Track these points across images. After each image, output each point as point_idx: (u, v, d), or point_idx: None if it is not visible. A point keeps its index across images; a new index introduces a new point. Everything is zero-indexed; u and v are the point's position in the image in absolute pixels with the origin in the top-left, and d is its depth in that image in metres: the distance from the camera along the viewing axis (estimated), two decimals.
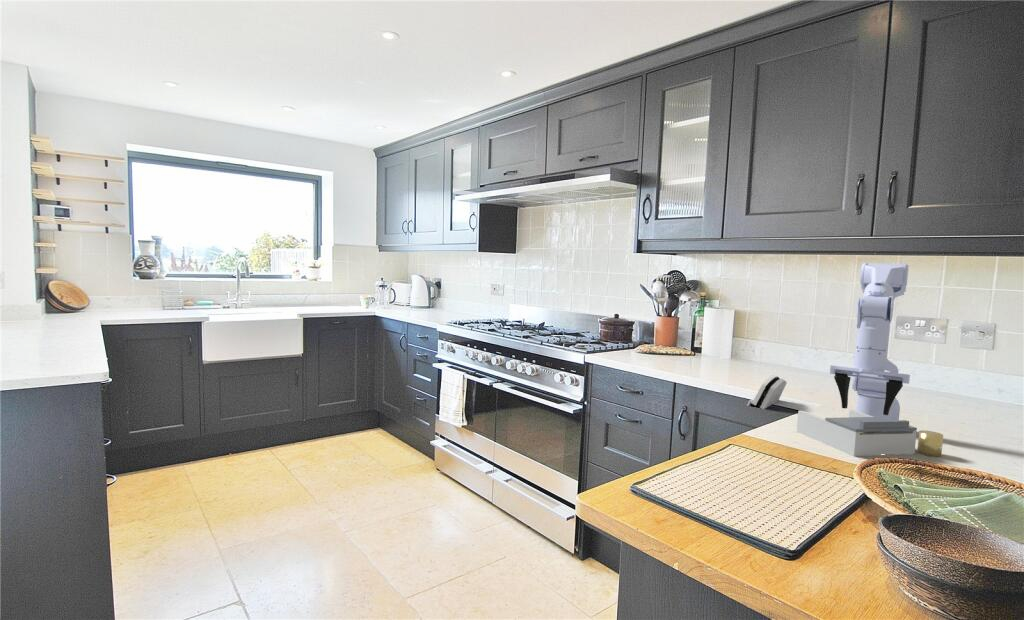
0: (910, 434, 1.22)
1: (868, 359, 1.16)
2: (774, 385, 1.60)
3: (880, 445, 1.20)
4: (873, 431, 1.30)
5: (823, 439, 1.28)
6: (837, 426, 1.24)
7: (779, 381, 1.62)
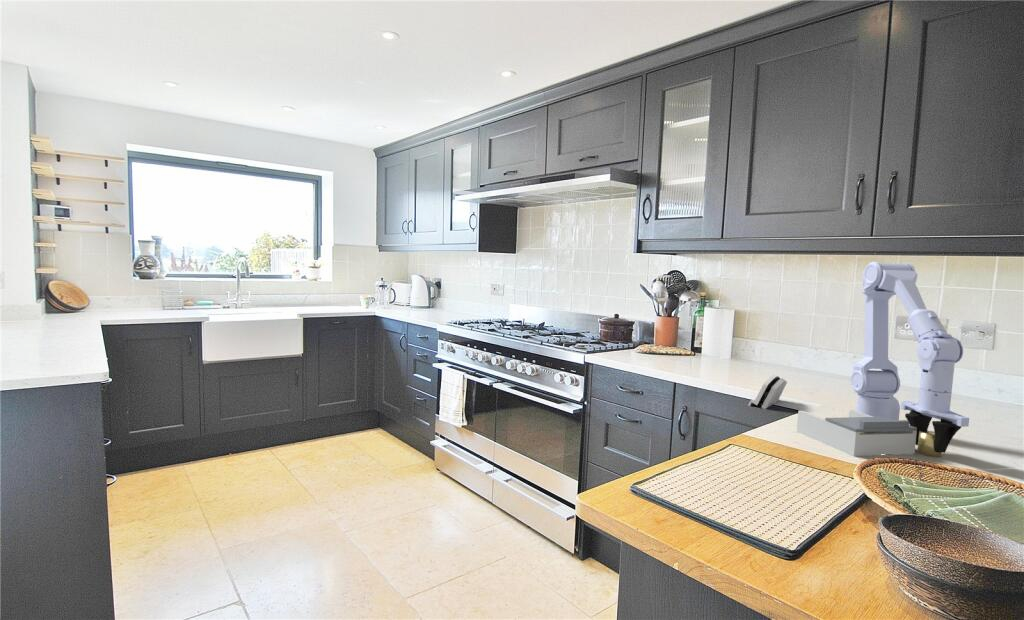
0: (910, 434, 1.22)
1: (924, 399, 1.21)
2: (775, 385, 1.60)
3: (880, 445, 1.20)
4: (873, 431, 1.30)
5: (823, 439, 1.28)
6: (837, 426, 1.24)
7: (780, 381, 1.63)
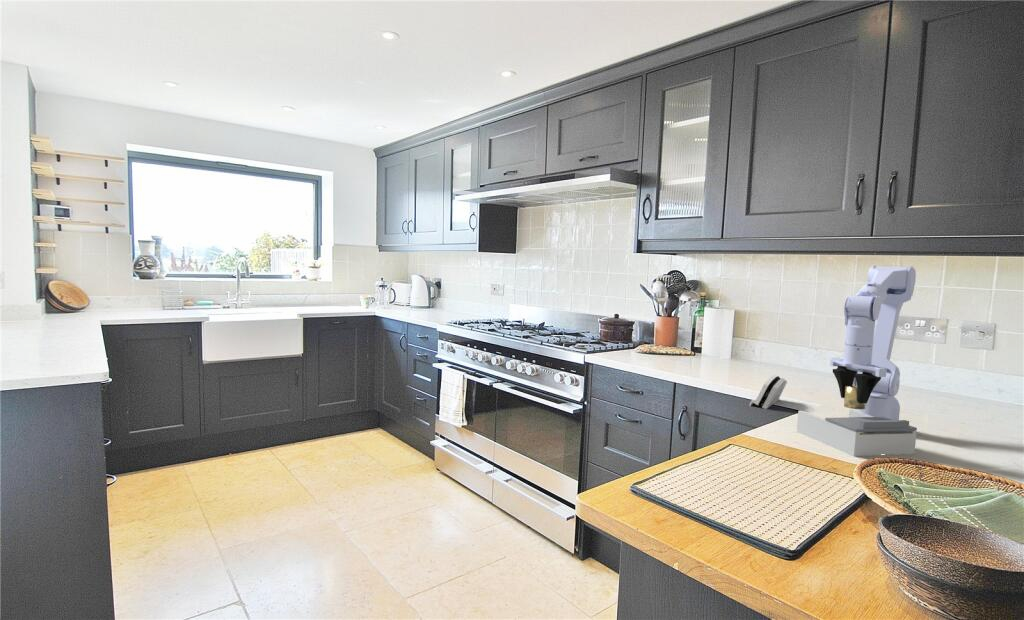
0: (910, 434, 1.22)
1: (848, 354, 1.29)
2: (776, 385, 1.60)
3: (880, 445, 1.20)
4: (873, 431, 1.30)
5: (823, 439, 1.28)
6: (837, 426, 1.24)
7: (780, 381, 1.63)
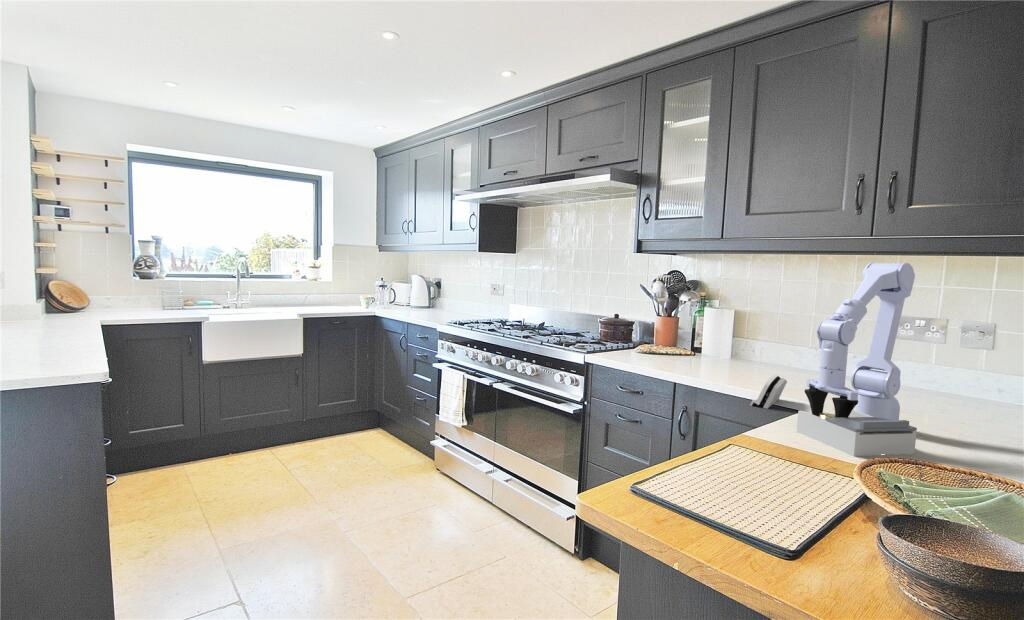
0: (910, 434, 1.22)
1: (822, 376, 1.33)
2: (777, 385, 1.61)
3: (880, 445, 1.20)
4: (873, 431, 1.30)
5: (823, 439, 1.28)
6: (837, 426, 1.24)
7: (781, 380, 1.63)
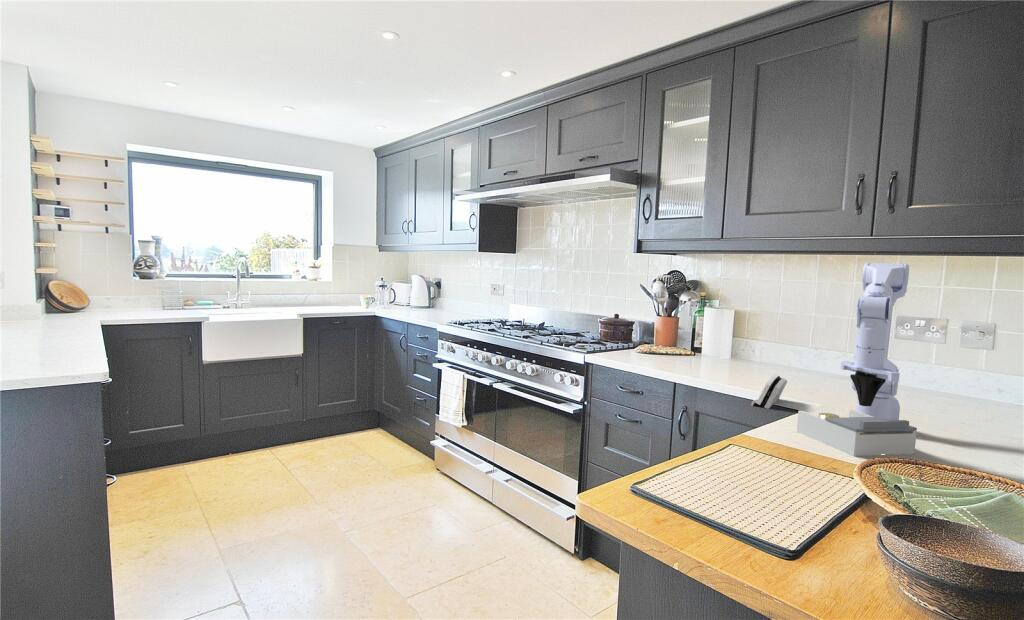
0: (910, 434, 1.22)
1: (859, 357, 1.24)
2: (778, 385, 1.61)
3: (880, 445, 1.20)
4: (873, 431, 1.30)
5: (823, 439, 1.28)
6: (837, 426, 1.24)
7: (782, 380, 1.64)
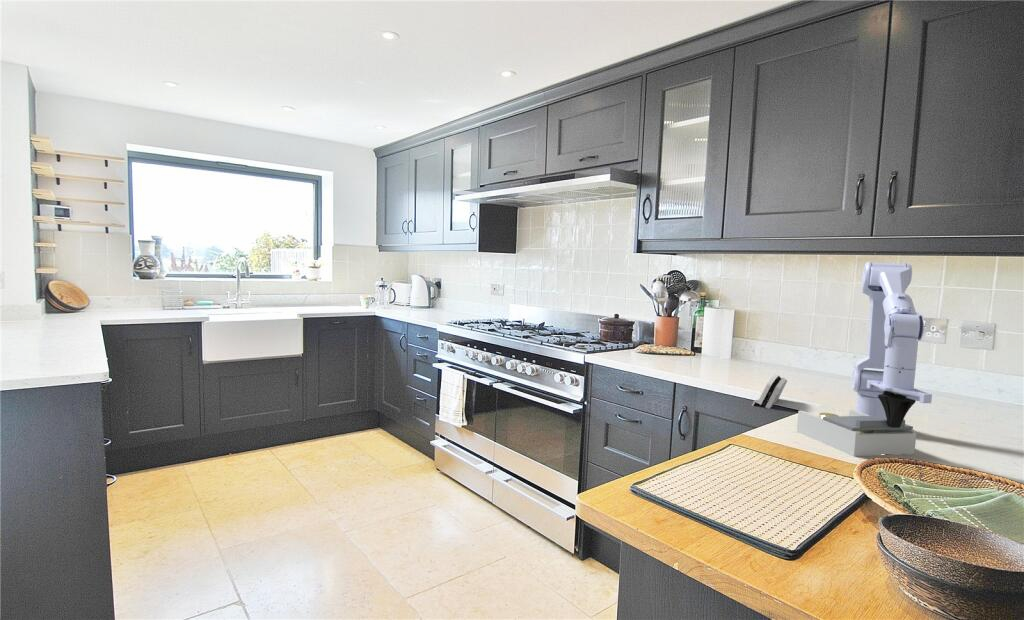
0: (910, 434, 1.22)
1: (888, 377, 1.19)
2: (779, 384, 1.61)
3: (880, 445, 1.20)
4: (873, 431, 1.30)
5: (823, 439, 1.28)
6: (837, 426, 1.24)
7: (782, 380, 1.64)
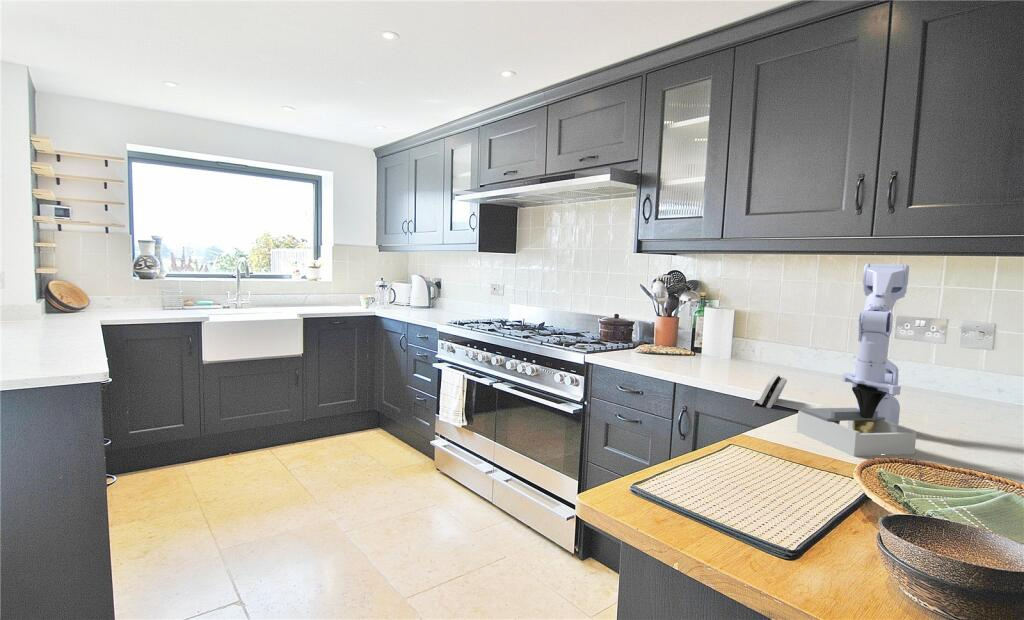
0: (910, 434, 1.22)
1: (860, 370, 1.27)
2: (779, 384, 1.61)
3: (880, 445, 1.20)
4: (873, 431, 1.30)
5: (823, 439, 1.28)
6: (837, 426, 1.24)
7: (783, 380, 1.64)
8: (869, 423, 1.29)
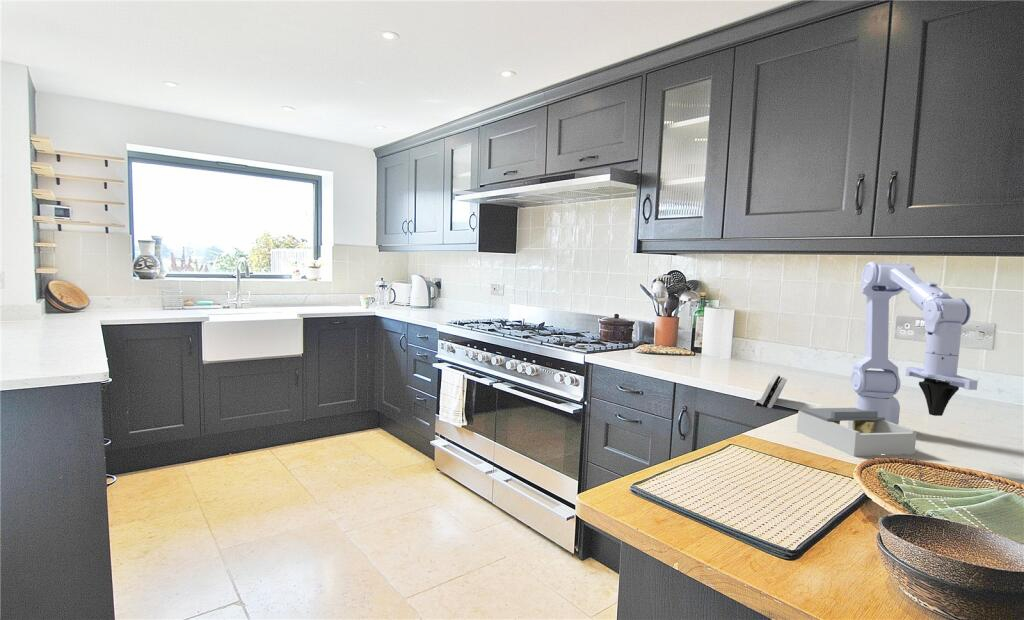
0: (910, 434, 1.22)
1: (930, 363, 1.16)
2: (780, 384, 1.62)
3: (880, 445, 1.20)
4: (873, 431, 1.30)
5: (823, 439, 1.28)
6: (837, 426, 1.24)
7: (783, 380, 1.65)
8: (869, 423, 1.29)
